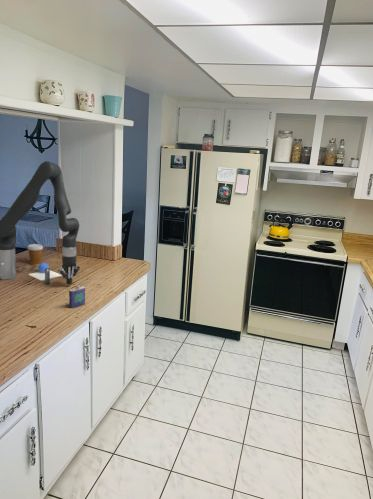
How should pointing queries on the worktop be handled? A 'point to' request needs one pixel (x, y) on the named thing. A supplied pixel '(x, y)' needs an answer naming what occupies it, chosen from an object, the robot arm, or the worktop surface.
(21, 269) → the stopper wall
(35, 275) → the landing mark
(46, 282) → the left post
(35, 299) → the worktop surface
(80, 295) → the flask
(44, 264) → the ball
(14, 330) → the worktop surface
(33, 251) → the disposable coffee cup
